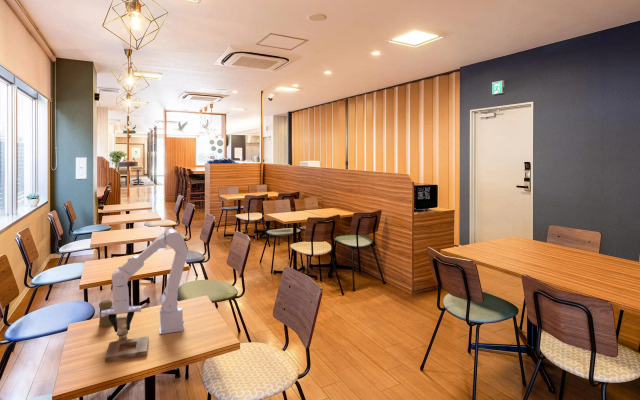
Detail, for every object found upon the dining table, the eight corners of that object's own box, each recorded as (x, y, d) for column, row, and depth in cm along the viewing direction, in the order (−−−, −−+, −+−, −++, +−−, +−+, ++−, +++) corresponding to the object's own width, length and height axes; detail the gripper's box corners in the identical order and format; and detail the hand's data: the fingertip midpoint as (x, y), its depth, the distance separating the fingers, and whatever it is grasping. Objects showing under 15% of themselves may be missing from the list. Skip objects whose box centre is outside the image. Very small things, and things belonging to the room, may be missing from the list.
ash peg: (128, 334, 156) (128, 314, 155) (127, 339, 153) (127, 318, 151) (117, 336, 155) (116, 316, 154) (116, 341, 151) (115, 320, 150)
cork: (107, 328, 162) (106, 304, 160) (95, 326, 163) (94, 302, 162) (117, 322, 168) (116, 299, 166) (106, 320, 169) (104, 297, 168)
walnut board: (148, 340, 152) (148, 336, 152) (147, 355, 141) (146, 350, 141) (109, 346, 147) (109, 342, 146) (105, 362, 136) (104, 357, 135)
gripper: (141, 293, 158) (142, 323, 160) (102, 297, 152) (104, 328, 154) (140, 299, 151) (141, 330, 153) (99, 304, 146) (101, 336, 148)
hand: (122, 330), depth 153 cm, fingers closed on ash peg, 4 cm apart
